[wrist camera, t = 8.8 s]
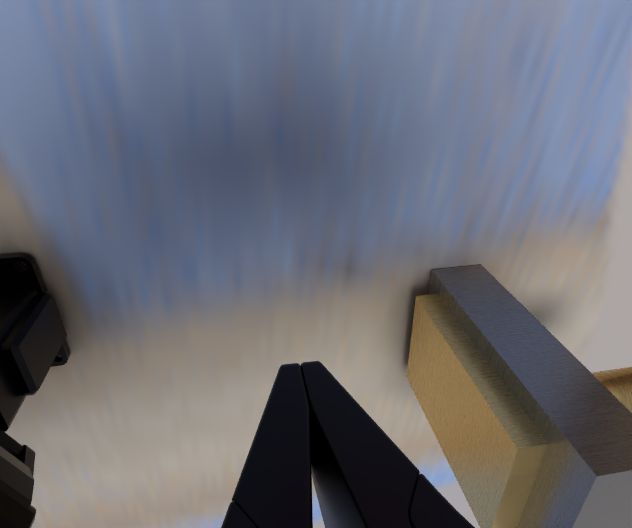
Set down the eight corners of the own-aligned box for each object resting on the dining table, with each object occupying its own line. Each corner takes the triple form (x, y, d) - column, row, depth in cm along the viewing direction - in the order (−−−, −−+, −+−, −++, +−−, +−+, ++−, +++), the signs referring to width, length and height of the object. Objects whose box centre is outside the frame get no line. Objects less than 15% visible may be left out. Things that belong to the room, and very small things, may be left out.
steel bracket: (417, 374, 29) (536, 602, 17) (431, 269, 25) (596, 476, 14) (460, 369, 29) (603, 587, 18) (480, 264, 25) (681, 461, 14)
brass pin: (406, 376, 27) (487, 542, 18) (415, 296, 24) (517, 449, 16) (552, 356, 28) (691, 502, 20) (578, 278, 26) (755, 409, 17)
